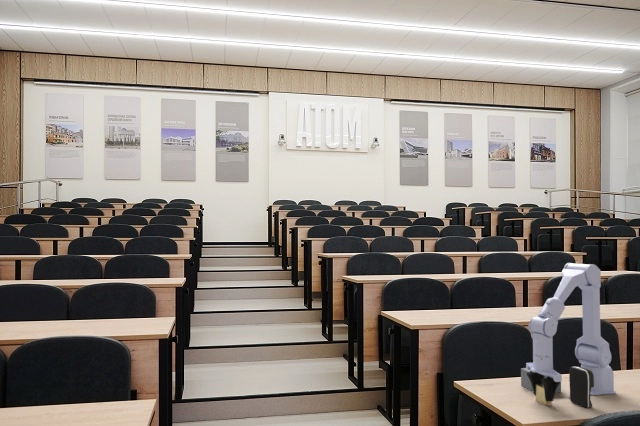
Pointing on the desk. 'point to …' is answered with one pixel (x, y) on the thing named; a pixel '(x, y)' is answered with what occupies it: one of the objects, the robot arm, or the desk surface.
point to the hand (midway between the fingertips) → (543, 398)
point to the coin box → (527, 384)
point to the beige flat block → (541, 395)
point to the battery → (581, 385)
